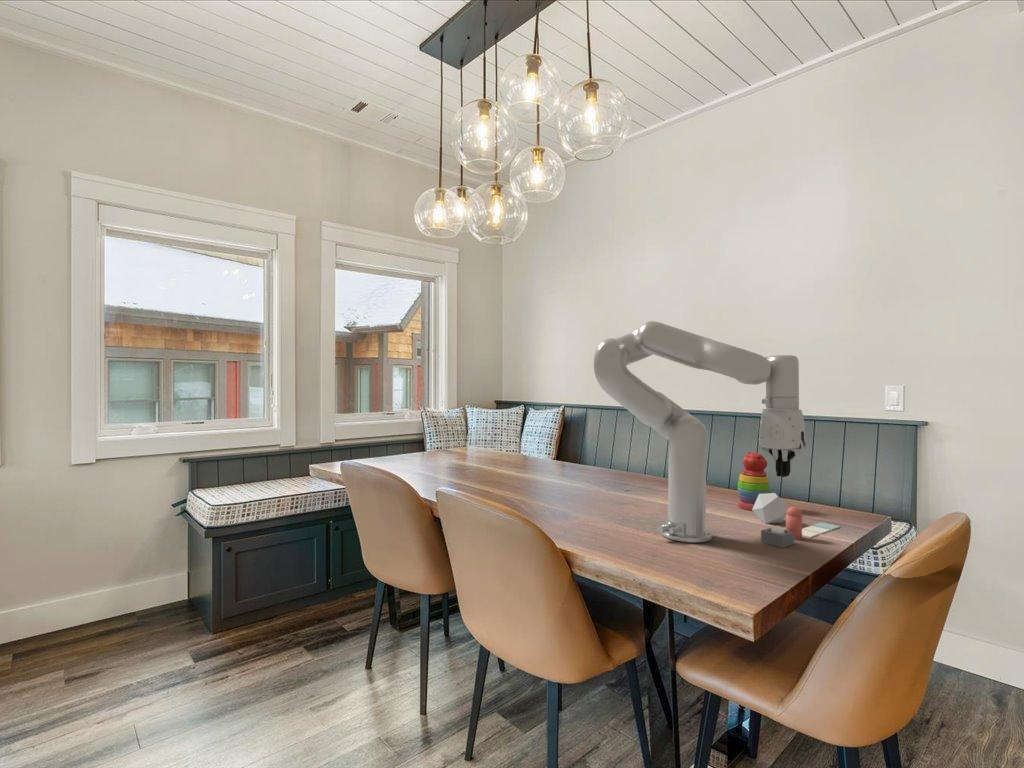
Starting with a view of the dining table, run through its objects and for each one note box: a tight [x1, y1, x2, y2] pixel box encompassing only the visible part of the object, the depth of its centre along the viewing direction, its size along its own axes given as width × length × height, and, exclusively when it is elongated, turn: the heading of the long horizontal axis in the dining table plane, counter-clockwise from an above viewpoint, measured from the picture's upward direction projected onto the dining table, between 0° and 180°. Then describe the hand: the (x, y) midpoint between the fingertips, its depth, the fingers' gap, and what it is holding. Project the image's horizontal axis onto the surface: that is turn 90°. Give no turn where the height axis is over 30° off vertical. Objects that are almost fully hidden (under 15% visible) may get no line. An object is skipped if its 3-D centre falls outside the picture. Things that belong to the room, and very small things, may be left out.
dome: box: [771, 525, 785, 534], centre depth 139 cm, size 3×3×4 cm
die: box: [751, 492, 790, 525], centre depth 159 cm, size 8×9×10 cm
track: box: [802, 525, 831, 538], centre depth 149 cm, size 11×5×1 cm, turn 126°
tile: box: [812, 521, 841, 531], centre depth 154 cm, size 5×5×1 cm
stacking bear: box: [737, 451, 770, 511], centre depth 175 cm, size 11×10×18 cm
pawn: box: [785, 506, 803, 541], centre depth 143 cm, size 4×4×8 cm
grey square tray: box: [760, 526, 795, 549], centre depth 139 cm, size 6×6×3 cm
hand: (783, 475), depth 139 cm, fingers closed
